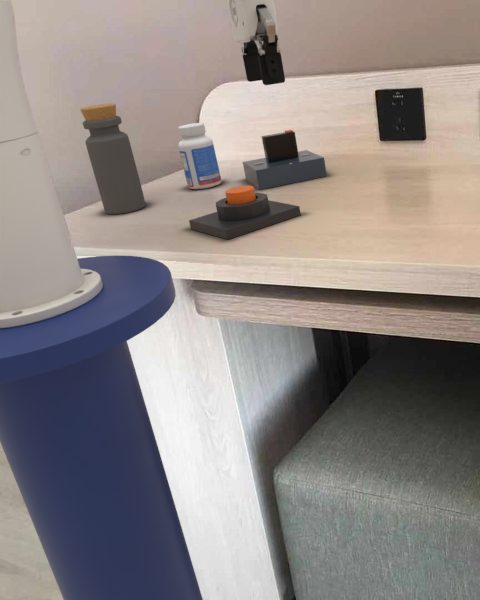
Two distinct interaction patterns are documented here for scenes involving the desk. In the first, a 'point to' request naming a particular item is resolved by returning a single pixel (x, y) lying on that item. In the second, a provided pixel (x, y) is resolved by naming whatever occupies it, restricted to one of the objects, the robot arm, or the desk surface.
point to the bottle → (112, 160)
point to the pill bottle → (198, 157)
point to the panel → (284, 170)
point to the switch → (240, 194)
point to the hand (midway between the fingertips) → (265, 81)
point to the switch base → (243, 217)
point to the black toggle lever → (280, 146)
